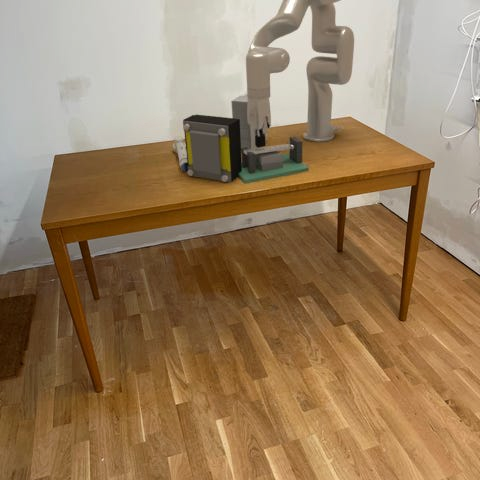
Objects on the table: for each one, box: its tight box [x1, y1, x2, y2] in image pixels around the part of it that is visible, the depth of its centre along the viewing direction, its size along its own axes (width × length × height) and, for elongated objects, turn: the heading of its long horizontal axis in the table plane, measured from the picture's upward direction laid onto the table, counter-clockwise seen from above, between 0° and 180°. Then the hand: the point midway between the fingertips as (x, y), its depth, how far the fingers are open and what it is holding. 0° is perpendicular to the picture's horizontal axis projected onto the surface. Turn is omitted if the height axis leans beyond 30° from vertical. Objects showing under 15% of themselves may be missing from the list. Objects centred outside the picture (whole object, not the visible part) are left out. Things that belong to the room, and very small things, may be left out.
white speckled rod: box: [172, 135, 188, 173], centre depth 177 cm, size 5×7×25 cm
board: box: [238, 136, 309, 184], centre depth 164 cm, size 24×16×9 cm, turn 111°
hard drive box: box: [230, 91, 267, 149], centre depth 183 cm, size 16×8×20 cm, turn 154°
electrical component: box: [182, 114, 242, 183], centre depth 159 cm, size 18×10×20 cm, turn 62°
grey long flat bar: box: [244, 141, 295, 155], centre depth 163 cm, size 18×4×1 cm, turn 111°
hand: (260, 146), depth 161 cm, fingers closed
